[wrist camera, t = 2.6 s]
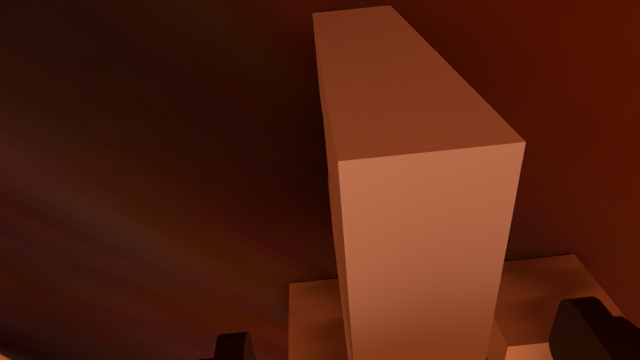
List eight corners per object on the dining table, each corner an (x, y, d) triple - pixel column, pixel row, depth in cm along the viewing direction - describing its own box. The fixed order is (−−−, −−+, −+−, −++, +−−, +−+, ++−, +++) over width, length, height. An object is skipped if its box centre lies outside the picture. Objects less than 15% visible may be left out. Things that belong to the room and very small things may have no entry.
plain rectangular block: (390, 4, 19) (526, 141, 8) (390, 223, 25) (465, 467, 14) (312, 13, 19) (337, 161, 8) (332, 229, 25) (362, 477, 14)
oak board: (574, 254, 27) (638, 333, 22) (562, 292, 29) (619, 373, 24) (289, 283, 27) (288, 368, 22) (295, 319, 29) (296, 406, 24)
